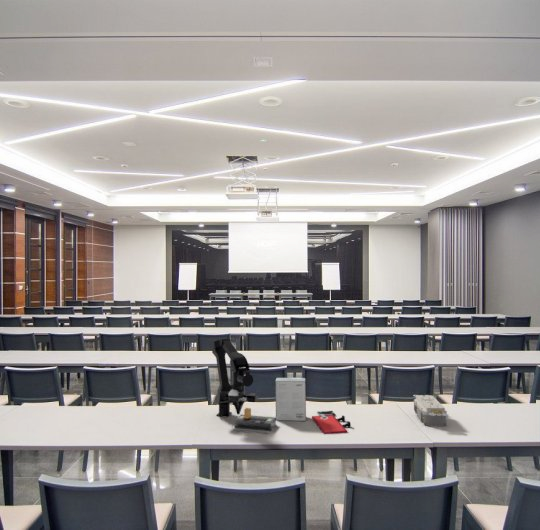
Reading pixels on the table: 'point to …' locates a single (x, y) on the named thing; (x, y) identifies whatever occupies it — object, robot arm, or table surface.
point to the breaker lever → (247, 413)
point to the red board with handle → (330, 422)
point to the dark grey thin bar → (251, 430)
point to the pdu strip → (256, 422)
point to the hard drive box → (290, 399)
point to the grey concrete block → (429, 410)
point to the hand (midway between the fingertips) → (238, 414)
